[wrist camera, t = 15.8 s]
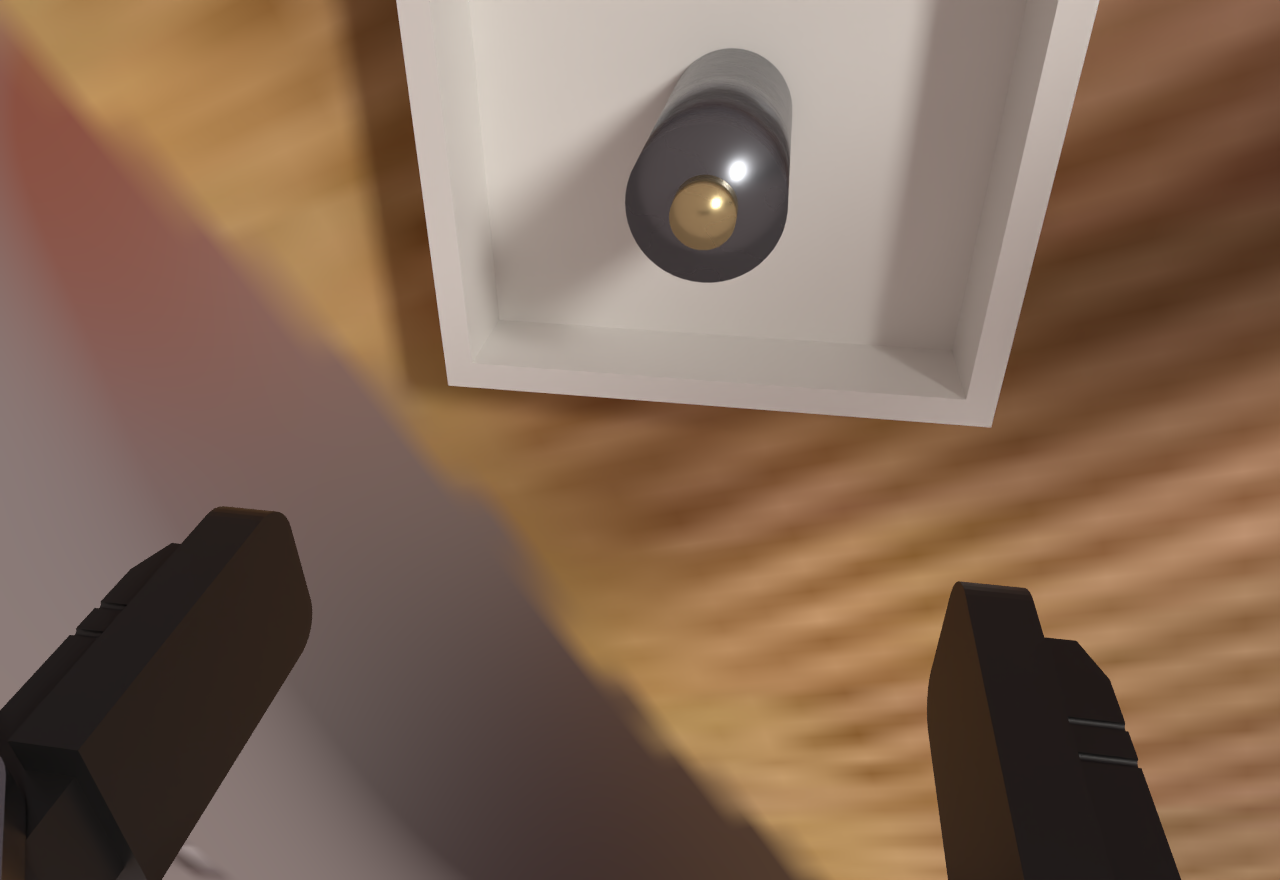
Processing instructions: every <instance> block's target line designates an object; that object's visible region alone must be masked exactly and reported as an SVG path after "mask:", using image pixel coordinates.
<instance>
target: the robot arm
mask: <svg viewBox="0 0 1280 880" xmlns="http://www.w3.org/2000/svg"><path fill="white" fill-rule="evenodd" d="M311 623H312V604H311V599H310V596H309V592H308V589H307V585H306V581H305V577H304V574H303V570H302V567H301V563H300V559H299V556H298V552H297V548H296V545H295V541H294V537H293V534H292V530H291V527H290V524H289V521H288V520H287V518H286V517H285V516H284V515H283V514H282V513H280V512H275V511H265V510H264V511H263V510H254V509H244V508H234V507H224V506H223V507H218V508H215V509H213V510H212V511H211V512H209V513H208V514H207V515H206V516H205V518H204V519H203V520H202V521H201V522H200V523H199V524H198V526H197V527H196V528H195V529H194V530H193V531H192V532H191V533H190V535H189V536H188V537H187V538H186V539H185V540H184V541H183V543H182V544H176V543H171V544H170V545H168V546H166V547H165V548H163V549H162V550H160V551H159V552H157V553H155V554H154V555H152V556H151V557H149V558H148V559H146V560H144V561H143V562H141V563H140V564H138V565H137V566H135V567H133V568H132V569H130V571H129V572H128V573H127V574H126V575H125V576H124V577H123V578H122V579H121V580H120V581H119V582H118V584H117V585H116V586H115V587H114V588H113V589H112V590H111V591H110V592H109V593H108V594H107V595H106V596H105V598H104V599H103V600H102V601H101V606H100V608H94V609H93V611H92V612H91V613H90V614H89V615H88V616H87V617H86V618H85V619H84V620H83V621H82V622H81V624H80V625H79V626H78V627H77V628H76V630H77V631H76V634H75V635H74V636H73V635H69V637H68V638H67V639H66V640H65V641H64V642H63V643H62V644H61V645H60V647H58V649H57V650H56V651H55V652H54V653H53V654H52V655H51V656H50V657H49V658H48V659H47V660H46V661H45V663H44V664H43V665H42V666H41V667H40V668H39V669H38V670H37V671H36V673H34V675H33V676H32V677H31V678H30V679H29V680H28V681H27V682H26V683H25V684H24V685H23V686H22V688H21V689H20V690H19V691H18V692H17V693H16V694H15V695H14V696H13V697H12V698H11V699H10V700H9V702H8V703H7V704H6V705H5V706H4V707H3V708H2V709H1V710H0V880H162V878H163V877H164V875H165V873H166V872H167V870H168V869H169V867H170V865H171V864H172V862H173V861H174V859H175V857H176V856H177V854H178V852H179V851H180V849H181V848H182V846H183V844H184V843H185V841H186V840H187V838H188V836H189V835H190V833H191V831H192V830H193V828H194V827H195V825H196V823H197V822H198V820H199V818H200V817H201V815H202V814H203V812H204V810H205V809H206V807H207V806H208V804H209V802H210V801H211V799H212V797H213V796H214V794H215V792H216V791H217V789H218V788H219V786H220V785H221V783H222V781H223V780H224V778H225V777H226V775H227V773H228V772H229V770H230V768H231V767H232V765H233V763H234V762H235V760H236V758H237V757H238V755H239V754H240V752H241V750H242V749H243V747H244V746H245V744H246V743H247V741H248V739H249V738H250V736H251V734H252V733H253V731H254V729H255V728H256V726H257V725H258V723H259V722H260V720H261V718H262V717H263V715H264V713H265V712H266V710H267V708H268V707H269V705H270V704H271V702H272V701H273V699H274V697H275V696H276V694H277V692H278V691H279V689H280V687H281V686H282V684H283V683H284V681H285V680H286V678H287V676H288V675H289V673H290V671H291V670H292V668H293V667H294V665H295V663H296V662H297V660H298V658H299V657H300V655H301V653H302V652H303V650H304V648H305V645H306V643H307V640H308V637H309V633H310V629H311ZM927 723H928V733H929V741H930V748H931V756H932V763H933V770H934V778H935V785H936V793H937V800H938V808H939V815H940V823H941V830H942V838H943V845H944V853H945V860H946V868H947V875H948V880H1181V878H1180V875H1179V872H1178V870H1177V867H1176V864H1175V861H1174V858H1173V856H1172V853H1171V850H1170V847H1169V844H1168V842H1167V839H1166V836H1165V833H1164V830H1163V827H1162V825H1161V822H1160V819H1159V816H1158V813H1157V811H1156V808H1155V805H1154V802H1153V799H1152V797H1151V794H1150V791H1149V788H1148V785H1147V783H1146V780H1145V777H1144V774H1143V771H1142V769H1141V768H1138V765H1137V761H1138V757H1137V755H1136V752H1135V749H1134V746H1133V743H1132V741H1131V738H1130V735H1129V732H1127V731H1125V721H1124V718H1123V715H1122V713H1121V710H1120V707H1119V704H1118V701H1117V699H1116V696H1115V693H1114V690H1113V687H1112V685H1111V682H1110V680H1109V678H1108V677H1107V676H1106V675H1105V674H1104V673H1103V671H1102V670H1101V669H1100V668H1099V667H1098V666H1097V664H1096V663H1095V662H1094V661H1093V660H1092V659H1091V657H1090V656H1089V655H1088V654H1087V653H1086V652H1085V650H1084V649H1083V648H1082V647H1081V646H1080V645H1079V643H1078V642H1077V641H1073V640H1063V639H1054V638H1044V635H1043V632H1042V629H1041V625H1040V622H1039V618H1038V615H1037V611H1036V608H1035V605H1034V601H1033V598H1032V596H1031V594H1030V592H1029V591H1028V590H1027V589H1026V588H1019V587H1009V586H999V585H989V584H979V583H969V582H956V583H955V585H954V586H953V589H952V591H951V595H950V598H949V602H948V606H947V610H946V614H945V618H944V622H943V626H942V630H941V634H940V638H939V642H938V646H937V650H936V654H935V658H934V662H933V665H932V669H931V674H930V679H929V686H928V697H927Z"/></svg>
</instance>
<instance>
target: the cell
mask: <svg viewBox="0 0 1280 880" xmlns="http://www.w3.org/2000/svg"><path fill="white" fill-rule="evenodd" d="M791 132H792V99H791V95H790V91H789V88H788V86H787V83H786V81H785V80H784V78H783V76H782V75H781V73H780V72H779V70H778V69H777V68H776V67H775V66H774V65H773V64H772V63H771V62H769V61H768V60H767V59H766V58H764V57H762V56H760V55H759V54H757V53H754V52H752V51H748V50H744V49H737V48H726V49H720V50H716V51H713V52H710V53H708V54H706V55H703V56H702V57H700V58H699V59H697V60H696V61H694V62H693V63H692V64H691V65H690V66H689V67H688V68H687V69H686V70H685V71H684V72H683V74H682V75H681V77H680V78H679V80H678V81H677V83H676V85H675V87H674V89H673V91H672V93H671V95H670V97H669V99H668V101H667V103H666V105H665V107H664V109H663V111H662V113H661V115H660V116H659V118H658V120H657V122H656V124H655V126H654V128H653V130H652V132H651V134H650V136H649V138H648V140H647V142H646V144H645V146H644V148H643V150H642V151H641V153H640V155H639V157H638V159H637V161H636V163H635V165H634V167H633V169H632V171H631V174H630V177H629V180H628V183H627V188H626V194H625V209H626V217H627V221H628V225H629V228H630V231H631V233H632V235H633V237H634V239H635V241H636V243H637V244H638V246H639V247H640V249H641V250H642V252H643V253H644V254H645V255H646V256H647V257H648V258H649V259H650V260H651V261H652V262H653V263H654V264H655V265H657V266H658V267H660V268H661V269H662V270H664V271H666V272H668V273H669V274H671V275H673V276H676V277H679V278H681V279H684V280H689V281H693V282H701V283H714V282H722V281H726V280H730V279H734V278H736V277H739V276H741V275H744V274H745V273H747V272H749V271H751V270H752V269H754V268H755V267H757V266H758V265H759V264H760V263H761V262H763V261H764V260H765V259H766V258H767V257H768V255H769V254H770V253H771V252H772V251H773V249H774V248H775V246H776V245H777V243H778V241H779V239H780V237H781V235H782V233H783V230H784V227H785V224H786V219H787V213H788V196H789V175H790V153H791Z"/></svg>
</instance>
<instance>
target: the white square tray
mask: <svg viewBox="0 0 1280 880" xmlns="http://www.w3.org/2000/svg"><path fill="white" fill-rule="evenodd" d="M396 2H397V10H398V17H399V25H400V32H401V39H402V47H403V54H404V61H405V69H406V76H407V84H408V91H409V98H410V106H411V113H412V121H413V128H414V135H415V143H416V150H417V158H418V165H419V172H420V180H421V187H422V195H423V202H424V209H425V217H426V224H427V232H428V239H429V246H430V254H431V261H432V269H433V276H434V283H435V291H436V298H437V306H438V313H439V320H440V328H441V335H442V342H443V350H444V357H445V365H446V372H447V379H448V385H449V386H462V387H475V388H488V389H500V390H513V391H526V392H539V393H552V394H565V395H578V396H591V397H604V398H617V399H630V400H642V401H655V402H668V403H681V404H694V405H707V406H720V407H733V408H746V409H759V410H772V411H785V412H797V413H810V414H823V415H836V416H849V417H862V418H875V419H888V420H901V421H914V422H927V423H939V424H952V425H965V426H978V427H991V426H992V422H993V418H994V414H995V410H996V406H997V402H998V398H999V394H1000V390H1001V386H1002V382H1003V379H1004V375H1005V371H1006V367H1007V363H1008V359H1009V355H1010V351H1011V347H1012V343H1013V339H1014V335H1015V331H1016V327H1017V323H1018V319H1019V315H1020V311H1021V308H1022V304H1023V300H1024V296H1025V292H1026V288H1027V284H1028V280H1029V276H1030V272H1031V268H1032V264H1033V260H1034V256H1035V252H1036V248H1037V244H1038V240H1039V237H1040V233H1041V229H1042V225H1043V221H1044V217H1045V213H1046V209H1047V205H1048V201H1049V197H1050V193H1051V189H1052V185H1053V181H1054V177H1055V173H1056V169H1057V166H1058V162H1059V158H1060V154H1061V150H1062V146H1063V142H1064V138H1065V134H1066V130H1067V126H1068V122H1069V118H1070V114H1071V110H1072V106H1073V102H1074V98H1075V95H1076V91H1077V87H1078V83H1079V79H1080V75H1081V71H1082V67H1083V63H1084V59H1085V55H1086V51H1087V47H1088V43H1089V39H1090V35H1091V31H1092V27H1093V24H1094V20H1095V16H1096V12H1097V8H1098V4H1099V0H396ZM726 48H737V49H744V50H748V51H752V52H754V53H757V54H759V55H760V56H762V57H764V58H766V59H767V60H768V61H769V62H771V63H772V64H773V65H774V66H775V67H776V68H777V69H778V70H779V72H780V73H781V75H782V76H783V78H784V80H785V81H786V83H787V86H788V88H789V91H790V95H791V99H792V132H791V153H790V175H789V196H788V213H787V219H786V224H785V227H784V230H783V233H782V235H781V237H780V239H779V241H778V243H777V245H776V246H775V248H774V249H773V251H772V252H771V253H770V254H769V255H768V257H767V258H766V259H765V260H764V261H763V262H761V263H760V264H759V265H758V266H757V267H755V268H754V269H752V270H751V271H749V272H747V273H745V274H744V275H741V276H739V277H736V278H734V279H730V280H726V281H722V282H714V283H701V282H693V281H689V280H684V279H681V278H679V277H676V276H673V275H671V274H669V273H668V272H666V271H664V270H662V269H661V268H660V267H658V266H657V265H655V264H654V263H653V262H652V261H651V260H650V259H649V258H648V257H647V256H646V255H645V254H644V253H643V252H642V250H641V249H640V247H639V246H638V244H637V243H636V241H635V239H634V237H633V235H632V233H631V231H630V228H629V225H628V221H627V217H626V209H625V194H626V188H627V183H628V180H629V177H630V174H631V171H632V169H633V167H634V165H635V163H636V161H637V159H638V157H639V155H640V153H641V151H642V150H643V148H644V146H645V144H646V142H647V140H648V138H649V136H650V134H651V132H652V130H653V128H654V126H655V124H656V122H657V120H658V118H659V116H660V115H661V113H662V111H663V109H664V107H665V105H666V103H667V101H668V99H669V97H670V95H671V93H672V91H673V89H674V87H675V85H676V83H677V81H678V80H679V78H680V77H681V75H682V74H683V72H684V71H685V70H686V69H687V68H688V67H689V66H690V65H691V64H692V63H693V62H694V61H696V60H697V59H699V58H700V57H702V56H703V55H706V54H708V53H710V52H713V51H716V50H720V49H726Z"/></svg>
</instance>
